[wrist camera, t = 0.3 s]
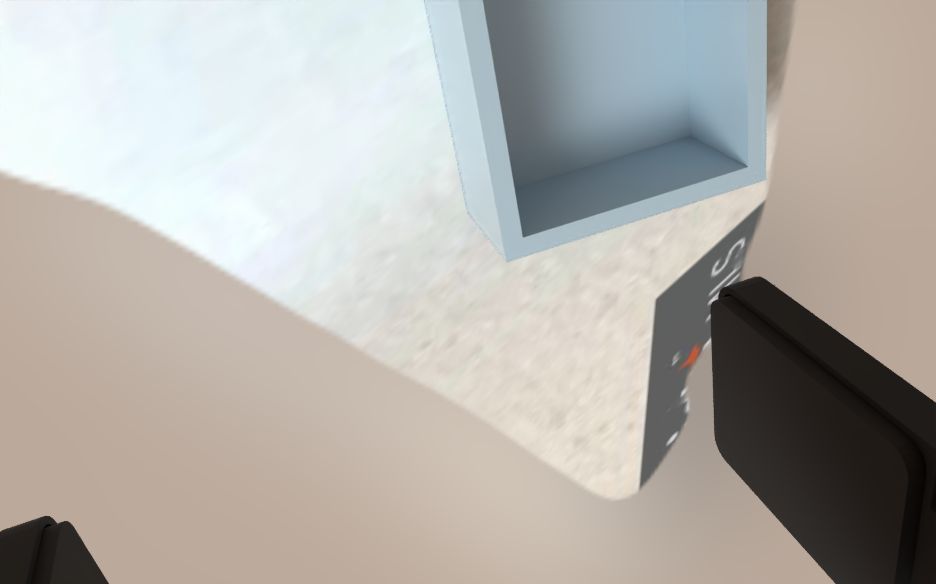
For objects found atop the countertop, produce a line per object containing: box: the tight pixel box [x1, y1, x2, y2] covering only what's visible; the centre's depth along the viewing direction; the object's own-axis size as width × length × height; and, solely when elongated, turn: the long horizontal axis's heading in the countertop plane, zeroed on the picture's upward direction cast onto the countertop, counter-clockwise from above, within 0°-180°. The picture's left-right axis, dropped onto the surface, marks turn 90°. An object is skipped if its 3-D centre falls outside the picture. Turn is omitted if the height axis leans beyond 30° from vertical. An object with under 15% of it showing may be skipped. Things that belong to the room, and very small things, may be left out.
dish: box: [424, 0, 767, 262], centre depth 38 cm, size 18×14×6 cm
